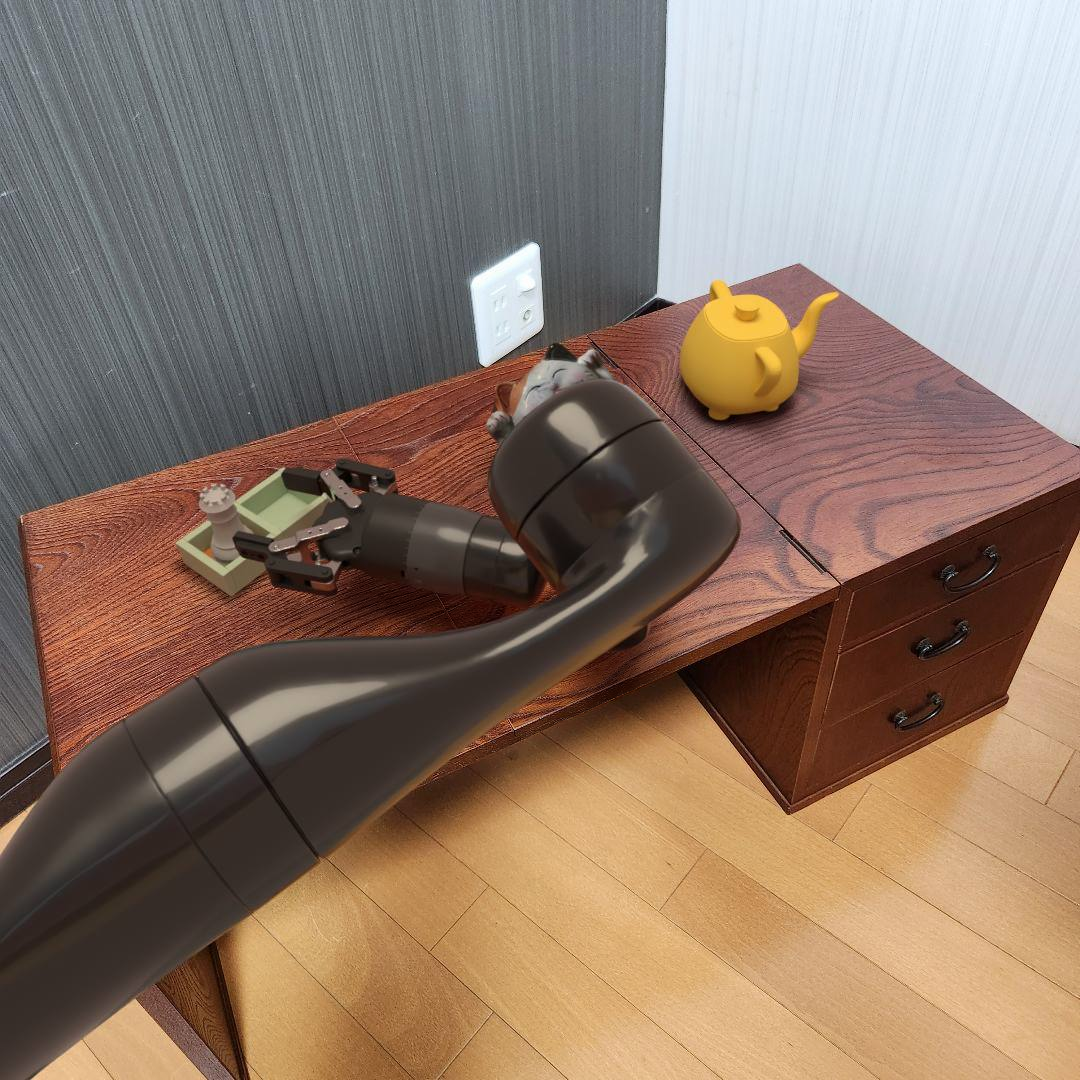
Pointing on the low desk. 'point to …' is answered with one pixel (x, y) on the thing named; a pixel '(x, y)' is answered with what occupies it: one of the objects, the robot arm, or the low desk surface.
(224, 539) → the rook chess piece
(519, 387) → the lucky cat figurine
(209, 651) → the low desk surface
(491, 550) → the robot arm
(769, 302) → the teapot
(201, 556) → the socket pad
